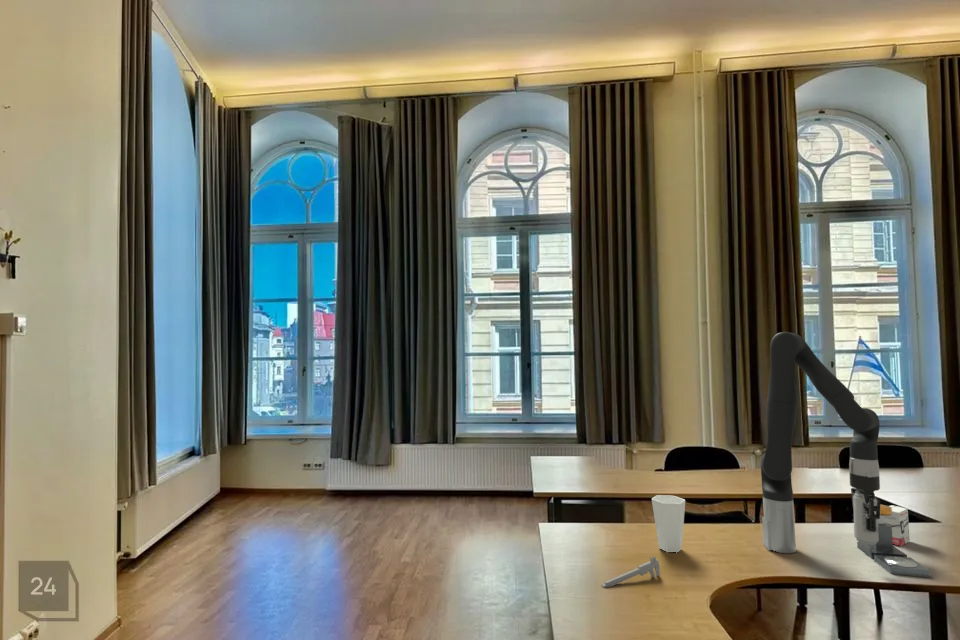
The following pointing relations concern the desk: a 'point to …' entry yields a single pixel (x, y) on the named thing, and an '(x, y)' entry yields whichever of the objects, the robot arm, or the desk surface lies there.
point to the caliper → (636, 572)
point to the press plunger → (884, 513)
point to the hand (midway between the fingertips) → (866, 527)
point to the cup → (669, 521)
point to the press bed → (901, 565)
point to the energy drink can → (863, 521)
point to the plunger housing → (882, 544)
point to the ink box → (898, 525)
